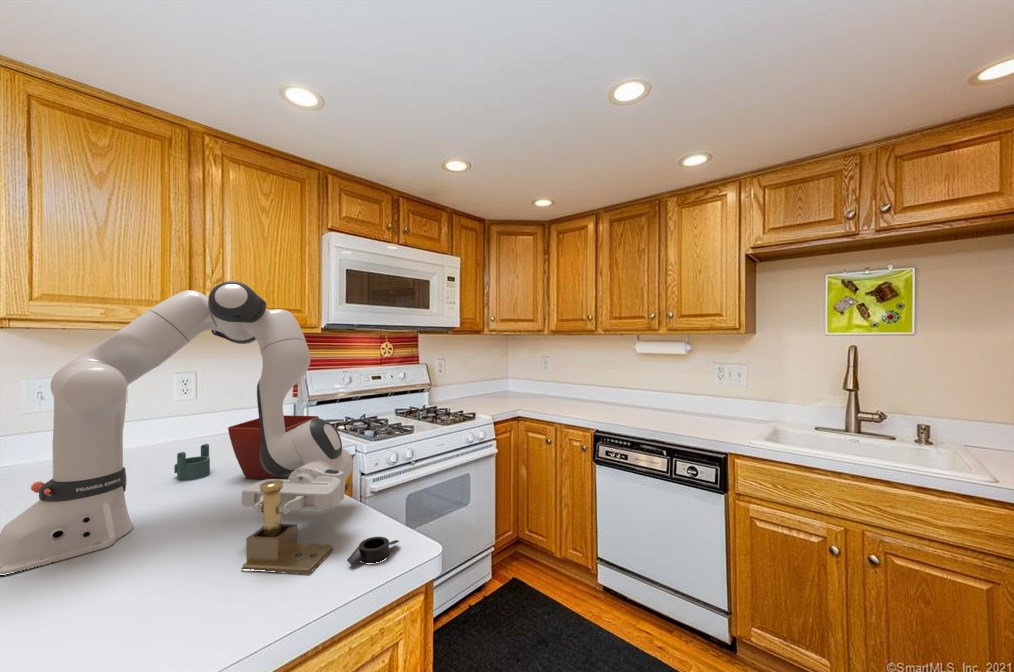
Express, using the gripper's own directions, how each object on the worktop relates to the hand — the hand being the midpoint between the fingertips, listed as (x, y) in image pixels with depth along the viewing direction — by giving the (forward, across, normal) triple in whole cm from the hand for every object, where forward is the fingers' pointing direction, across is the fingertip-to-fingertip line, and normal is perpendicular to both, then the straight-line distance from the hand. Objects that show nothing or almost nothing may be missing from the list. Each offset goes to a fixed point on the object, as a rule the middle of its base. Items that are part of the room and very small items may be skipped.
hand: (269, 509), depth 83 cm
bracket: (-45, -57, +11) cm, 73 cm away
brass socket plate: (-1, +4, +10) cm, 11 cm away
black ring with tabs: (-4, +20, +11) cm, 23 cm away
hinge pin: (-1, 0, +9) cm, 9 cm away
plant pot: (-50, -32, +11) cm, 61 cm away
